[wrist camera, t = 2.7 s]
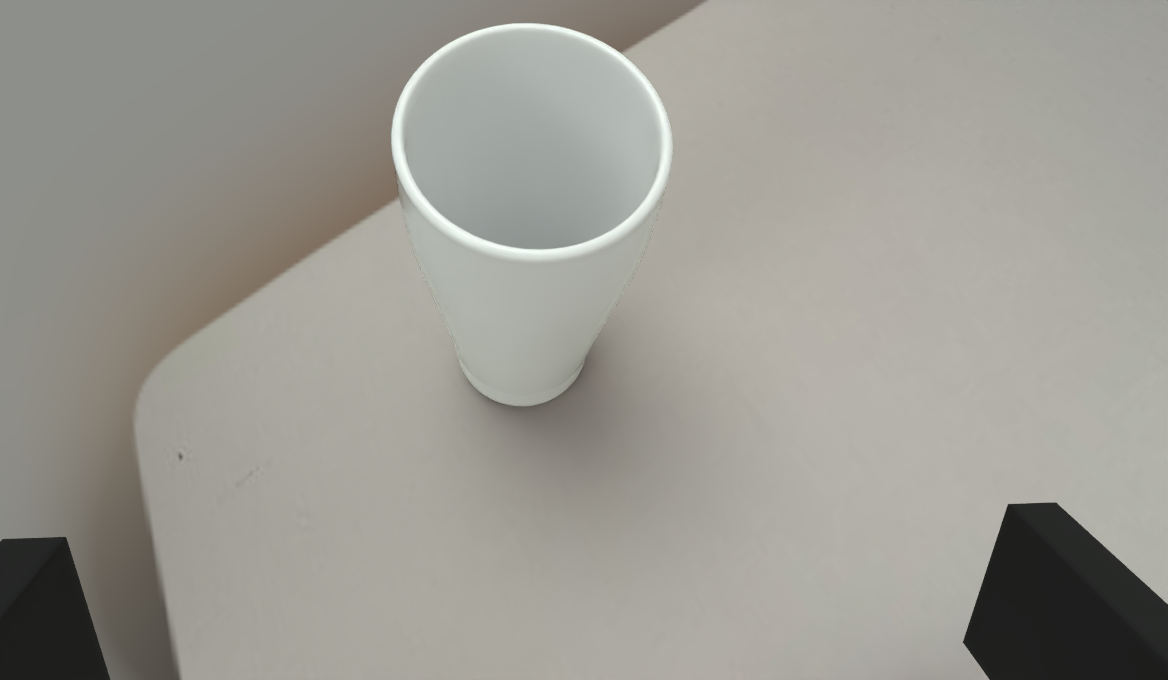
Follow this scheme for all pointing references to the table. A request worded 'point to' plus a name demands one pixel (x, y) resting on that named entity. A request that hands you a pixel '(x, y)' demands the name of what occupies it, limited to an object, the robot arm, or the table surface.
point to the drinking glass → (528, 196)
